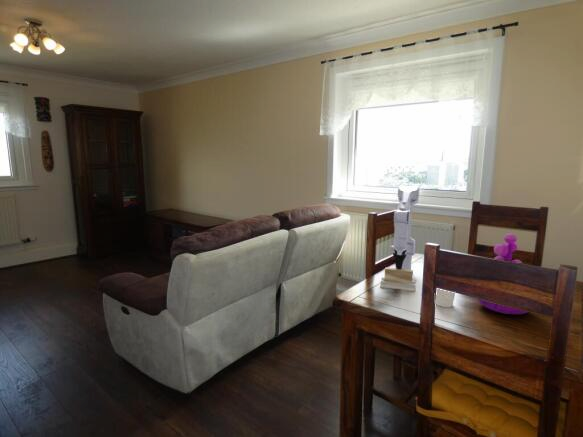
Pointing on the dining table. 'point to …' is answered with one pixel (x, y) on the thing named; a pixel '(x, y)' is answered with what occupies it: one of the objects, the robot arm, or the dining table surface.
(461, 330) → the dining table surface
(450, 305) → the white cup
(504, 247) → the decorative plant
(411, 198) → the robot arm
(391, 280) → the tan rectangular block
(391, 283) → the track board
